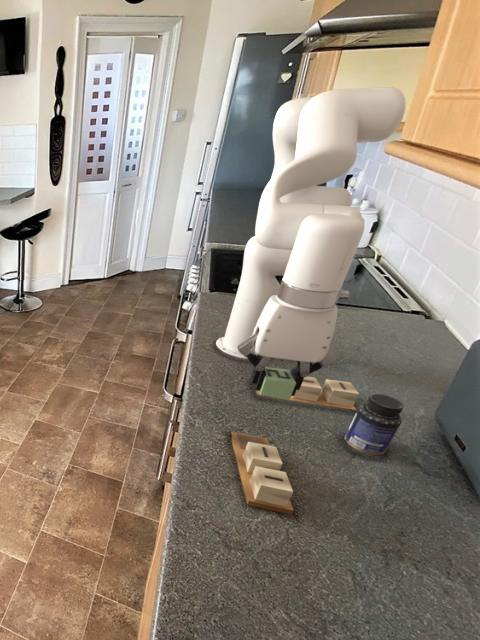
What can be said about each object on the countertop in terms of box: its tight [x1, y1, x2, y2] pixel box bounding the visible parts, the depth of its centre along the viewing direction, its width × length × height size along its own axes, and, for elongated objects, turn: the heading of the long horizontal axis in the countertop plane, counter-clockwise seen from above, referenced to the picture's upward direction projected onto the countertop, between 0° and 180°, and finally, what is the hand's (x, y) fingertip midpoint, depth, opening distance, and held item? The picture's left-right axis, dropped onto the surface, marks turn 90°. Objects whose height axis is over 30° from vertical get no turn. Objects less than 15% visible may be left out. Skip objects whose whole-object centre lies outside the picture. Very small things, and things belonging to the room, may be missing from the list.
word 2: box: [255, 376, 360, 411], centre depth 96 cm, size 6×18×5 cm, turn 70°
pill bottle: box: [344, 393, 405, 456], centre depth 80 cm, size 6×6×11 cm
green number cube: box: [259, 366, 296, 401], centre depth 77 cm, size 4×4×4 cm
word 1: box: [229, 431, 295, 516], centre depth 78 cm, size 18×6×5 cm, turn 160°
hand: (272, 388), depth 77 cm, fingers closed on green number cube, 4 cm apart
